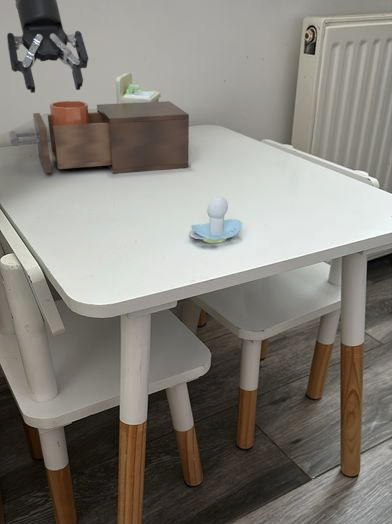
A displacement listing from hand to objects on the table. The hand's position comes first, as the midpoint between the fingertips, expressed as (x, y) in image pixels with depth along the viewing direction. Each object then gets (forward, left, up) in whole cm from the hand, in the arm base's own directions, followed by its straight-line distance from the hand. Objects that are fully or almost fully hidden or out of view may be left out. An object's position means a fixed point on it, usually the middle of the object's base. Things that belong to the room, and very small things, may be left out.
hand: (56, 89), depth 105 cm
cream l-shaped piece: (+11, +15, -12) cm, 23 cm away
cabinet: (+16, 0, -12) cm, 21 cm away
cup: (+5, -6, -10) cm, 13 cm away
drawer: (+3, -7, -11) cm, 14 cm away
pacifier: (+36, -34, -12) cm, 51 cm away
